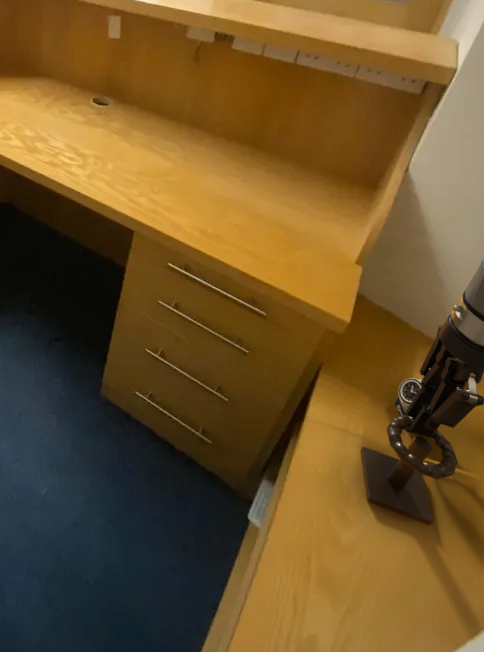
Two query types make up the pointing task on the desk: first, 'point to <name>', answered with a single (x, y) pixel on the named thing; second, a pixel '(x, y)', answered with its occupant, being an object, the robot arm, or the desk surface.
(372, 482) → the stand
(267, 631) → the desk surface
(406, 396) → the watch
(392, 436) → the brown beaded bracelet ring
